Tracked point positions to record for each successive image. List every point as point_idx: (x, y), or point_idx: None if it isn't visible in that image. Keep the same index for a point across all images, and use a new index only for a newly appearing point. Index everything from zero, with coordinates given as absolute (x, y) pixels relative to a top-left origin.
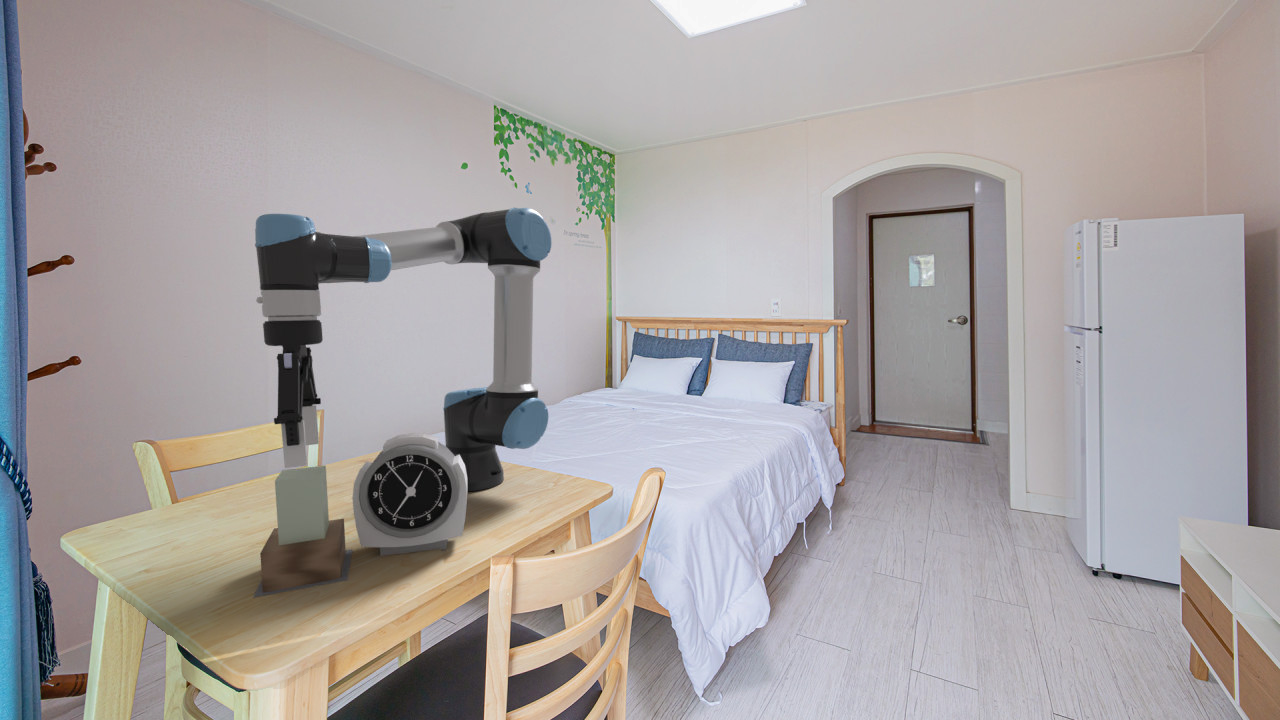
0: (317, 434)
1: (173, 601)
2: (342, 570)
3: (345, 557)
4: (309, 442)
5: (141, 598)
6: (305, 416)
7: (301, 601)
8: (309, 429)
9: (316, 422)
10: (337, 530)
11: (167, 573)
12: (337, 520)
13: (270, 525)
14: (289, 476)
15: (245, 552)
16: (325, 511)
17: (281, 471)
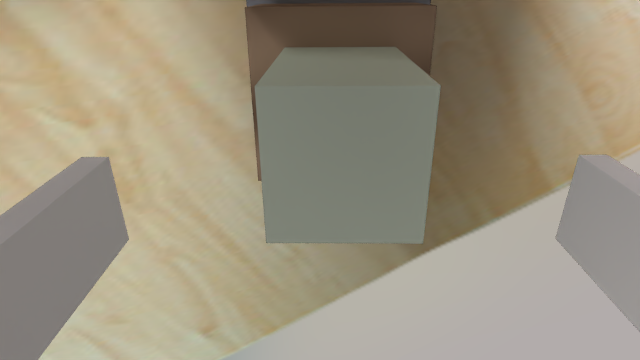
0: (75, 184)
1: (352, 267)
2: (371, 2)
3: (295, 1)
4: (111, 204)
5: (318, 308)
6: (3, 334)
7: (469, 72)
8: (66, 245)
9: (22, 231)
10: (346, 17)
11: (231, 302)
12: (258, 25)
13: (21, 196)
14: (383, 205)
15: (173, 212)
16: (353, 56)
17: (287, 242)
